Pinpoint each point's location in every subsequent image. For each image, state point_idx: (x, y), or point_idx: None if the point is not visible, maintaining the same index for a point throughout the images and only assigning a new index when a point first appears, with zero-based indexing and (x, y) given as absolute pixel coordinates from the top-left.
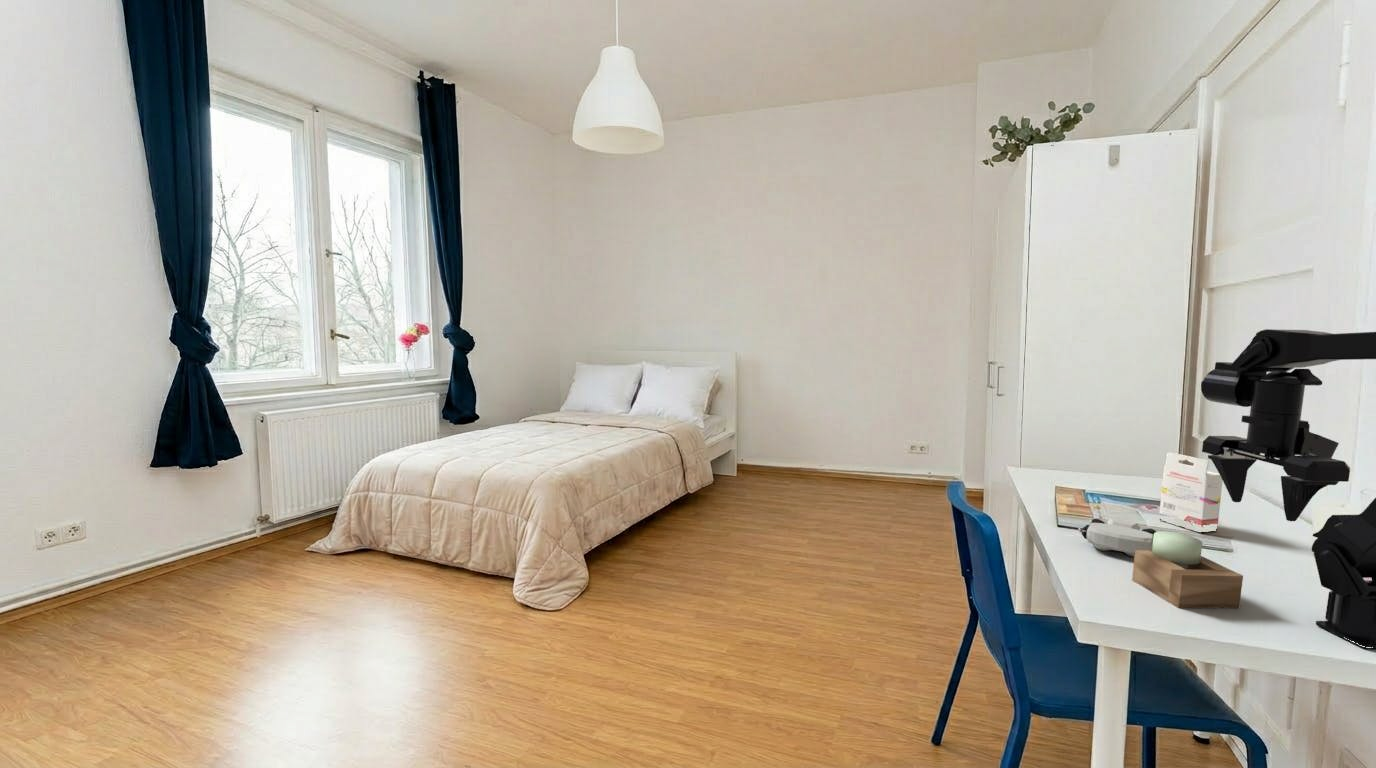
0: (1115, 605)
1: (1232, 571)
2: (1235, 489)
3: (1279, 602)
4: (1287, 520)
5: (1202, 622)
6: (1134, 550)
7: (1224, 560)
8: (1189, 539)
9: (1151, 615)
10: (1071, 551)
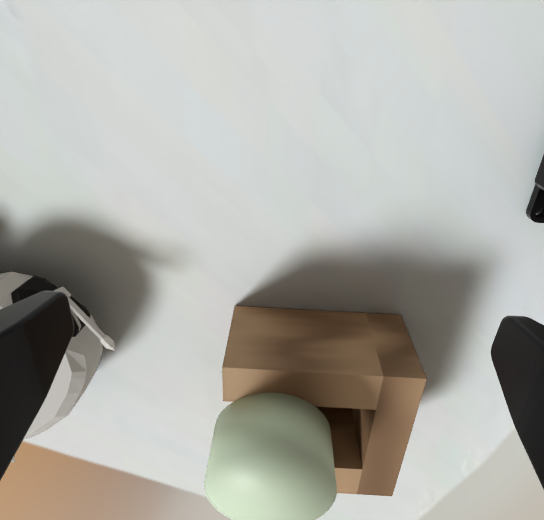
0: (348, 500)
1: (394, 382)
2: (15, 407)
3: (388, 174)
4: (494, 351)
5: (438, 426)
6: (97, 365)
7: (28, 25)
8: (282, 471)
9: None
10: (64, 427)
